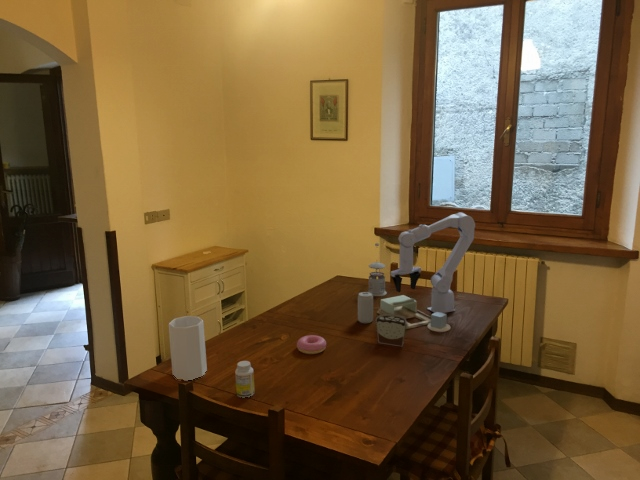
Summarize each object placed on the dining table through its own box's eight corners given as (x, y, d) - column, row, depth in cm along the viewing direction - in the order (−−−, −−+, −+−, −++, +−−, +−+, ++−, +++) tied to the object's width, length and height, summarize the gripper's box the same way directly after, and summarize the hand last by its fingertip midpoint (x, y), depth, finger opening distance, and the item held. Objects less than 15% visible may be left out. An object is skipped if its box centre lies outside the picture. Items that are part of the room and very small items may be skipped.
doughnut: (292, 353, 188) (292, 342, 187) (303, 341, 198) (303, 331, 197) (320, 357, 184) (320, 346, 183) (330, 345, 194) (330, 334, 194)
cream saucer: (440, 322, 215) (440, 320, 215) (455, 329, 207) (455, 327, 207) (422, 326, 211) (422, 324, 211) (437, 333, 203) (437, 332, 203)
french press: (365, 295, 250) (365, 245, 244) (367, 288, 261) (367, 239, 255) (386, 296, 248) (387, 245, 243) (387, 289, 259) (387, 240, 254)
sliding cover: (403, 305, 232) (403, 293, 230) (416, 312, 223) (416, 299, 222) (380, 310, 226) (380, 297, 225) (392, 317, 218) (393, 303, 217)
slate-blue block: (436, 323, 212) (436, 311, 211) (446, 325, 209) (446, 314, 208) (430, 326, 209) (430, 314, 208) (440, 329, 206) (440, 317, 205)
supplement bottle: (246, 387, 164) (244, 357, 161) (258, 393, 160) (256, 362, 158) (232, 395, 159) (230, 364, 157) (244, 400, 156) (243, 369, 154)
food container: (410, 341, 196) (411, 316, 194) (406, 347, 191) (407, 321, 189) (379, 336, 202) (380, 311, 199) (374, 342, 196) (374, 317, 194)
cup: (189, 384, 166) (185, 330, 162) (165, 376, 172) (160, 323, 168) (214, 370, 175) (210, 319, 171) (190, 363, 181) (186, 313, 177)
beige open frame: (405, 307, 233) (405, 303, 232) (435, 322, 214) (435, 318, 214) (377, 313, 226) (377, 309, 226) (406, 329, 208) (406, 325, 207)
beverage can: (373, 318, 220) (373, 291, 217) (373, 324, 214) (373, 296, 211) (357, 318, 221) (357, 291, 218) (357, 323, 214) (357, 296, 212)
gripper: (414, 255, 229) (413, 285, 232) (386, 259, 223) (386, 290, 225) (424, 259, 223) (423, 289, 226) (396, 263, 216) (395, 294, 219)
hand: (405, 290), depth 225 cm, fingers open, 7 cm apart
